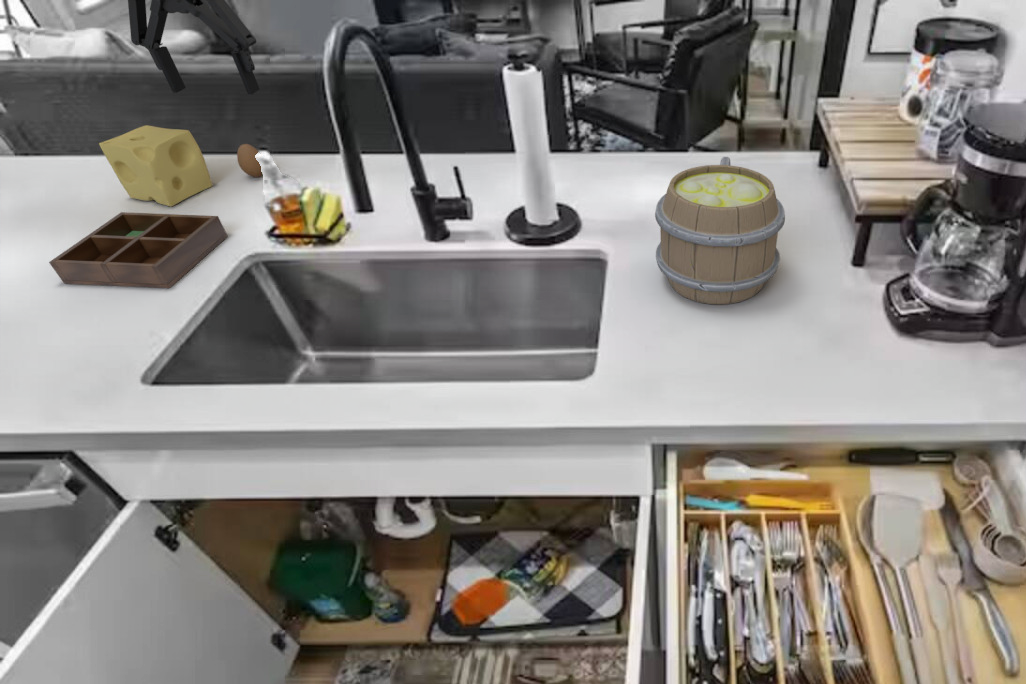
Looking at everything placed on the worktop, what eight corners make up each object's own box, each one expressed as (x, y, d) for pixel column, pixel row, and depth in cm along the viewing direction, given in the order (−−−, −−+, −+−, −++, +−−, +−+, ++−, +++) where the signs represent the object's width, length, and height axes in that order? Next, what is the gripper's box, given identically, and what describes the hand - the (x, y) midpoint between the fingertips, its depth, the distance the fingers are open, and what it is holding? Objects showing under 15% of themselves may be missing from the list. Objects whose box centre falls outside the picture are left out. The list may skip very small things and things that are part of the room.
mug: (776, 236, 113) (787, 145, 103) (776, 317, 96) (790, 217, 86) (667, 229, 115) (667, 139, 104) (648, 308, 97) (646, 209, 87)
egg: (264, 181, 127) (250, 149, 123) (240, 181, 127) (226, 148, 123) (274, 171, 130) (261, 139, 126) (251, 171, 130) (237, 139, 126)
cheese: (172, 208, 119) (141, 150, 112) (126, 198, 121) (92, 141, 114) (218, 184, 126) (191, 129, 119) (173, 176, 128) (145, 121, 121)
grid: (64, 283, 100) (48, 262, 98) (133, 232, 112) (121, 212, 109) (169, 288, 100) (156, 266, 97) (228, 236, 111) (217, 215, 109)
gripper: (241, -62, 105) (295, 85, 120) (88, -64, 106) (161, 82, 121) (214, -54, 100) (274, 99, 115) (55, -56, 101) (135, 96, 116)
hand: (216, 91), depth 118 cm, fingers open, 13 cm apart
